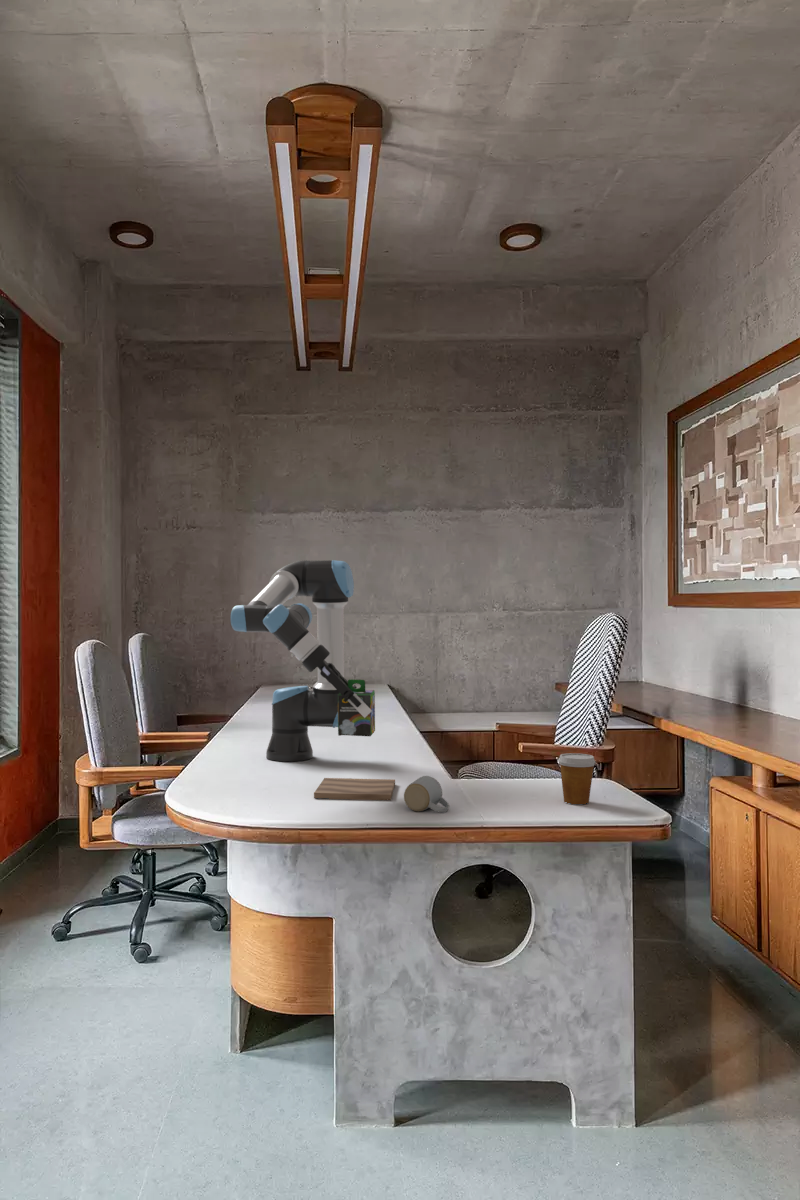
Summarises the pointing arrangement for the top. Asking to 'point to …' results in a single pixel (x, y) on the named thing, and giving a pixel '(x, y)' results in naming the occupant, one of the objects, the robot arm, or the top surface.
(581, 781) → the disposable coffee cup
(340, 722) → the chalk box
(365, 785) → the walnut board
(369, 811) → the top surface
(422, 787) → the ceramic mug
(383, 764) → the top surface
